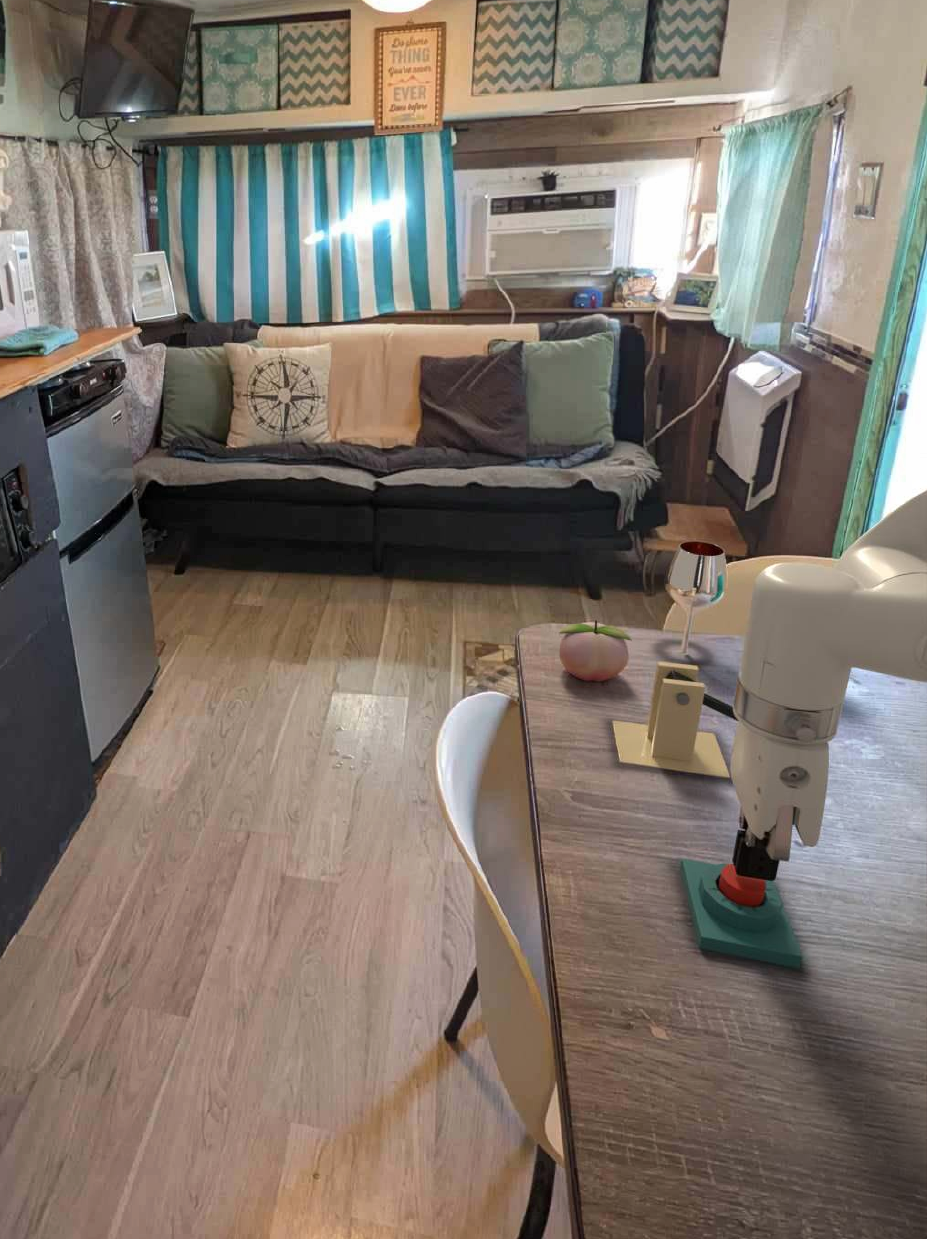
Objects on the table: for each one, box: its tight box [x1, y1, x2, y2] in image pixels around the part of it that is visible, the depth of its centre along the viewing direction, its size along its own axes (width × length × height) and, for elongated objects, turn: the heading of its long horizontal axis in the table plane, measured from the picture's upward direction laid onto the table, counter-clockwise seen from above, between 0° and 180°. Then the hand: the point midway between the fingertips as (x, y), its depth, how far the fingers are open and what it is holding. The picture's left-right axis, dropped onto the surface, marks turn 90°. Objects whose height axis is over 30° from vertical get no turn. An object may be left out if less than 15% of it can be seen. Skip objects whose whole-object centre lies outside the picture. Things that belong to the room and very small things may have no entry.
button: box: [719, 863, 766, 907], centre depth 76 cm, size 4×4×2 cm
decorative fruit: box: [558, 619, 632, 683], centre depth 116 cm, size 9×8×10 cm
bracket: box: [611, 661, 731, 779], centre depth 100 cm, size 12×9×12 cm
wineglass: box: [663, 540, 729, 656], centre depth 120 cm, size 8×8×18 cm
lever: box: [661, 670, 738, 722], centre depth 97 cm, size 12×5×2 cm, turn 72°
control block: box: [679, 858, 803, 969], centre depth 77 cm, size 8×10×4 cm
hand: (753, 871), depth 76 cm, fingers closed
